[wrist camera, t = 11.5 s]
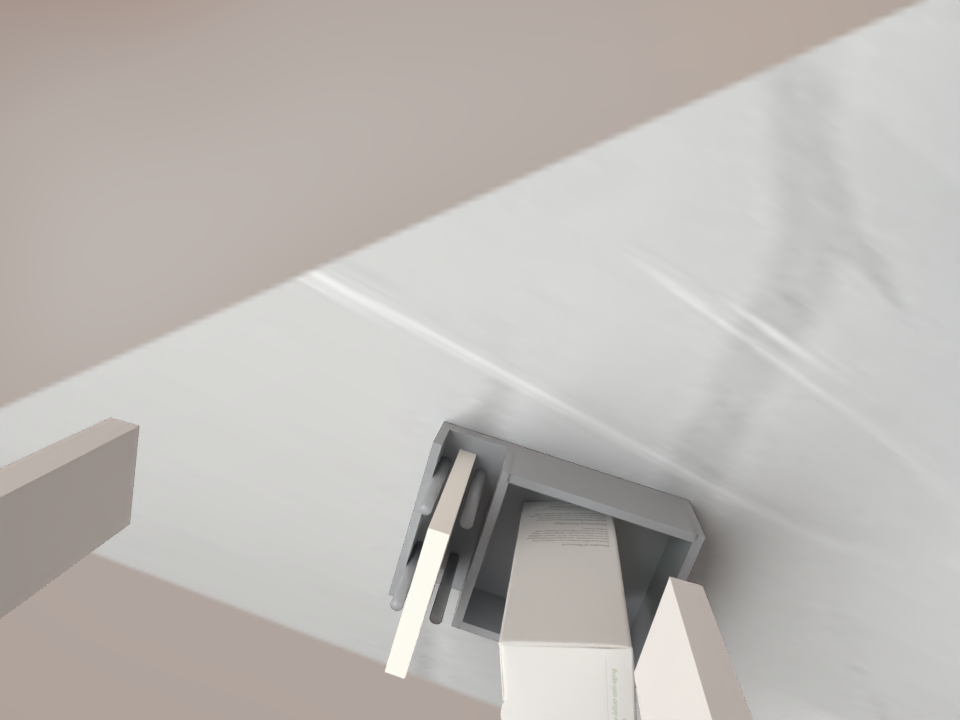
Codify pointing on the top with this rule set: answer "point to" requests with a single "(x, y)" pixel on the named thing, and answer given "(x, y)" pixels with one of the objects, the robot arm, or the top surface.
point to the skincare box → (566, 620)
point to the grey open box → (494, 530)
